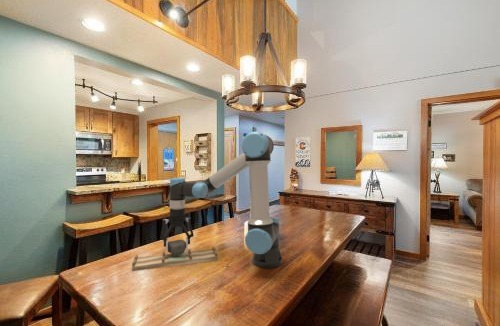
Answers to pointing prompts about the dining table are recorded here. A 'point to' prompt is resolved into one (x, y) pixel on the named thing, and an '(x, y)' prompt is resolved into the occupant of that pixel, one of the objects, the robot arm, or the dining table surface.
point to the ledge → (174, 259)
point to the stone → (176, 246)
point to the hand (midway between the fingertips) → (177, 251)
